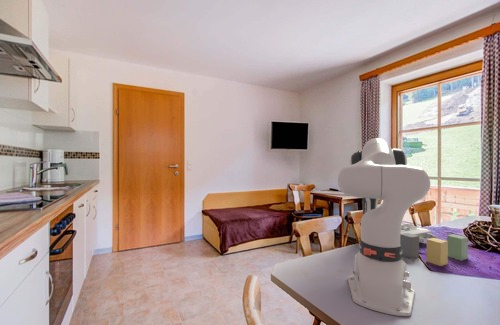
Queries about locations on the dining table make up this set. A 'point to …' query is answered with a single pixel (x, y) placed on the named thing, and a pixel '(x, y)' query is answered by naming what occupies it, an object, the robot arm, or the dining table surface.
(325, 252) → the dining table surface
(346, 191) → the robot arm
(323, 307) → the dining table surface
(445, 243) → the mustard brick
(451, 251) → the sage green brick
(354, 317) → the dining table surface
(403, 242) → the charcoal brick
